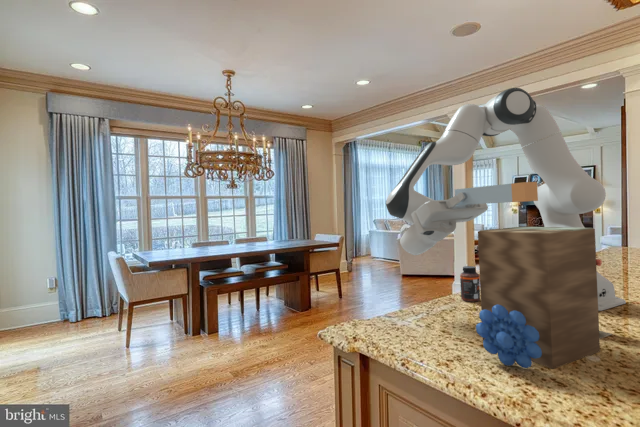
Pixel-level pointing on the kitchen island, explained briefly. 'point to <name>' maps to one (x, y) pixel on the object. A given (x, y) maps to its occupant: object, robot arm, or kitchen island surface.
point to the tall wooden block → (545, 286)
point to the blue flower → (508, 336)
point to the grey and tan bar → (500, 193)
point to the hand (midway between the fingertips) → (472, 194)
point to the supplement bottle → (470, 284)
